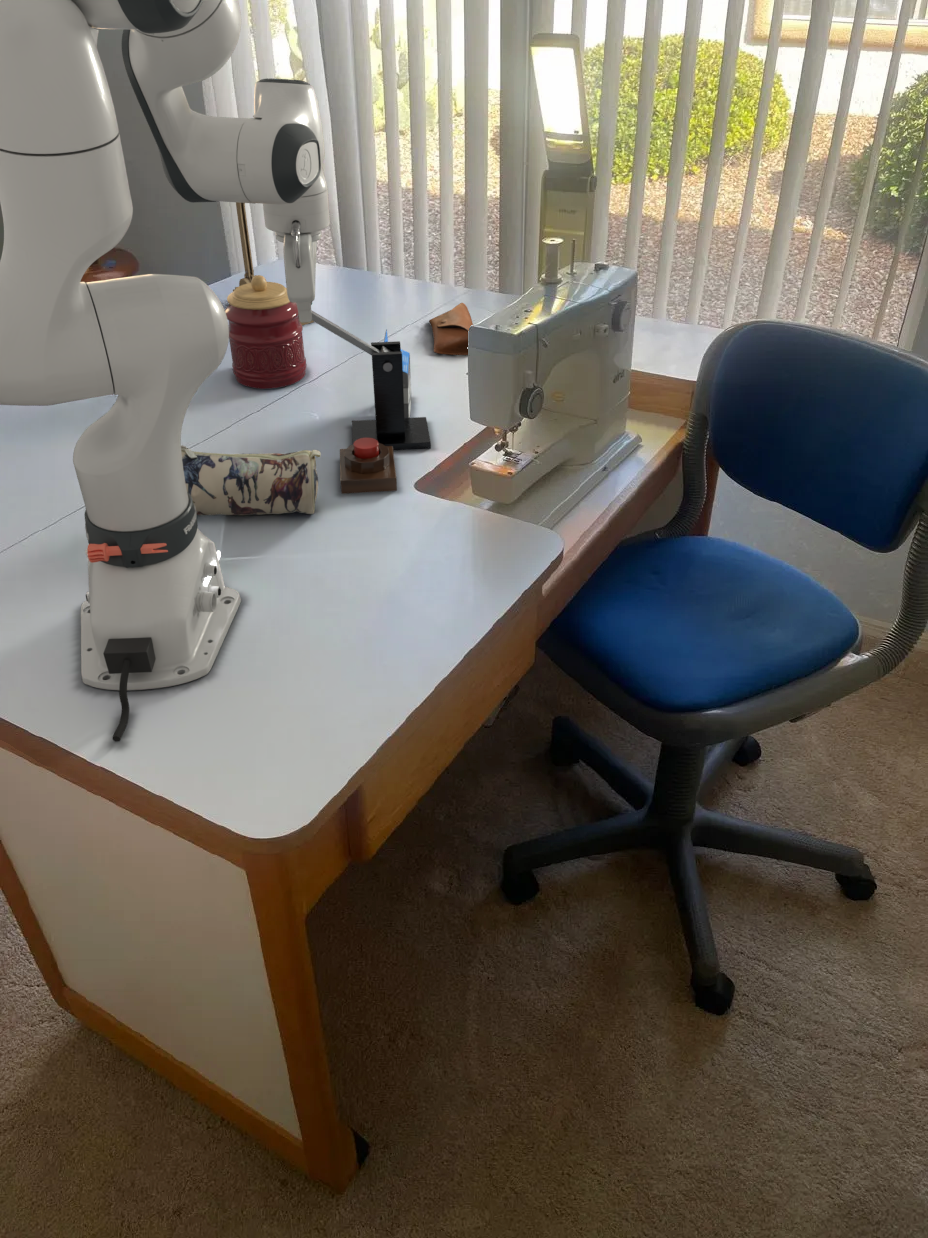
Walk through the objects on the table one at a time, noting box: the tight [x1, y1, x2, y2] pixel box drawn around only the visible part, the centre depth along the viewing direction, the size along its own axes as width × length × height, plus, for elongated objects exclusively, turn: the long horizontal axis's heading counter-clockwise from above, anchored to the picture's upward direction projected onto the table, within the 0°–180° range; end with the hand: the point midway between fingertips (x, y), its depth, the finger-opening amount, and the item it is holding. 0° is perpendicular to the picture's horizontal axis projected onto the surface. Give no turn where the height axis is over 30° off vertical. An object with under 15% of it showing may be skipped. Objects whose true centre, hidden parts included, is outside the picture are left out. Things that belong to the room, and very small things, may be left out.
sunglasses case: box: [428, 302, 474, 356], centre depth 187 cm, size 18×7×7 cm
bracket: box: [351, 340, 432, 452], centre depth 149 cm, size 12×9×15 cm
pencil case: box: [181, 444, 322, 516], centre depth 133 cm, size 22×8×10 cm, turn 90°
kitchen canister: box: [224, 274, 308, 390], centre depth 168 cm, size 13×13×18 cm
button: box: [354, 438, 379, 459], centre depth 141 cm, size 4×4×2 cm
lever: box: [298, 309, 392, 356], centre depth 143 cm, size 16×5×2 cm
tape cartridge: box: [383, 328, 412, 418], centre depth 158 cm, size 9×4×12 cm, turn 0°
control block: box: [339, 443, 398, 495], centre depth 143 cm, size 10×8×4 cm
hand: (306, 312), depth 140 cm, fingers closed on lever, 5 cm apart
